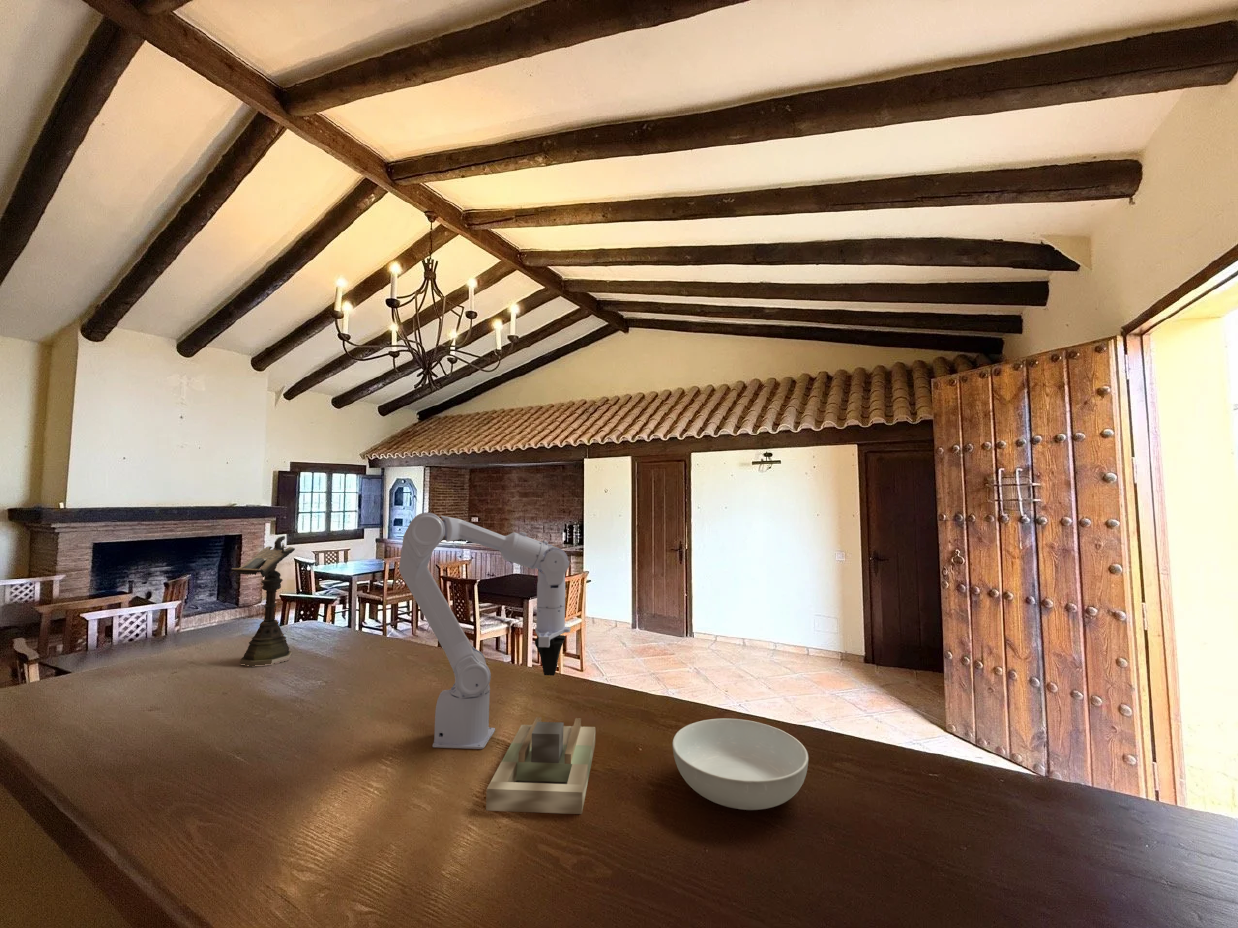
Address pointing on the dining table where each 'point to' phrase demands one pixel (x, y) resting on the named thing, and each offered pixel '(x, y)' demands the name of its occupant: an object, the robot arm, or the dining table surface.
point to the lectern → (267, 607)
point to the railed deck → (543, 774)
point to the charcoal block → (547, 742)
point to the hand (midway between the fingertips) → (549, 674)
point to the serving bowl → (740, 762)
